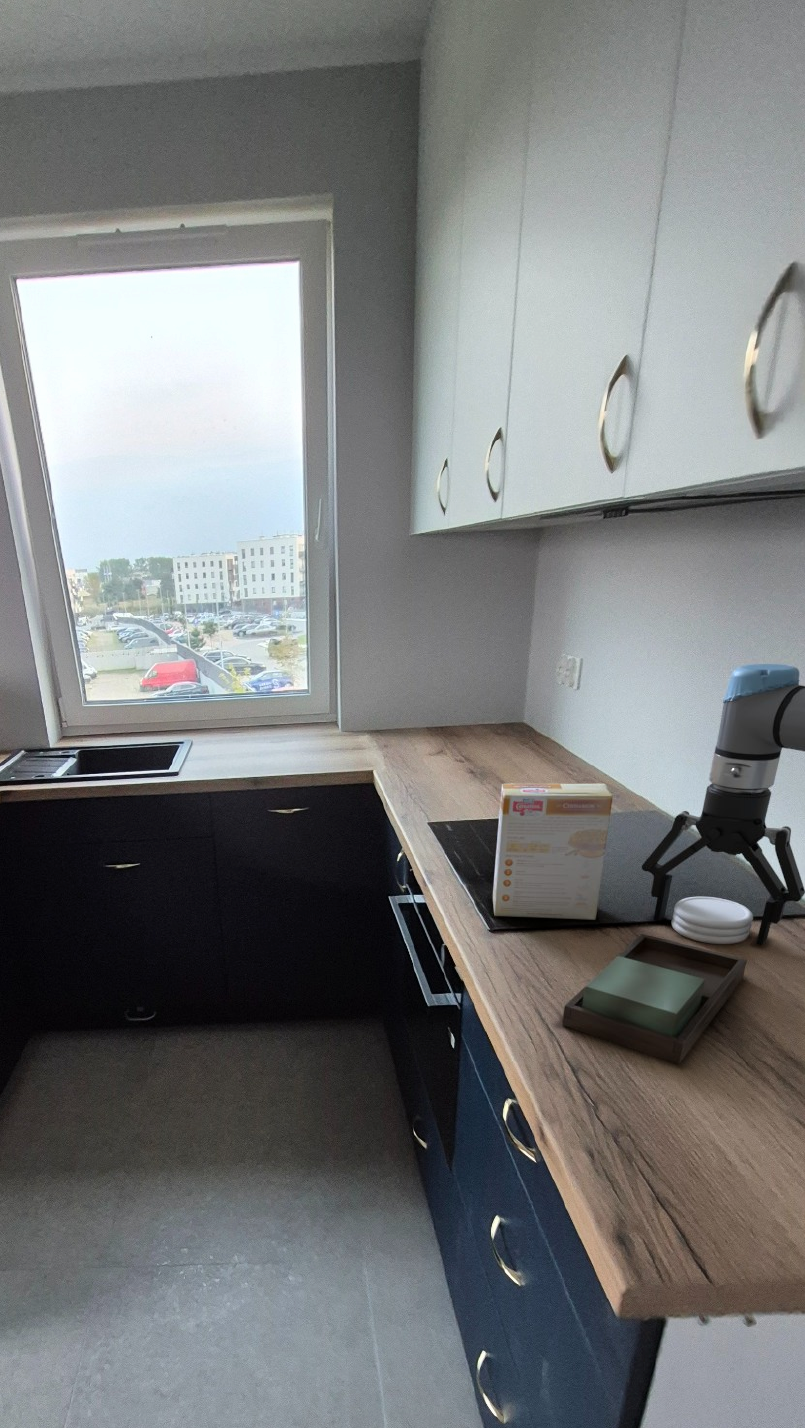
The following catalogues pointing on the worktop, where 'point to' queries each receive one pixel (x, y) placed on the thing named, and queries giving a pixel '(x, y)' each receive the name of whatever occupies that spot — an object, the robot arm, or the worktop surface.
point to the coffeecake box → (551, 850)
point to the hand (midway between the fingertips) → (708, 929)
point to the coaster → (712, 920)
